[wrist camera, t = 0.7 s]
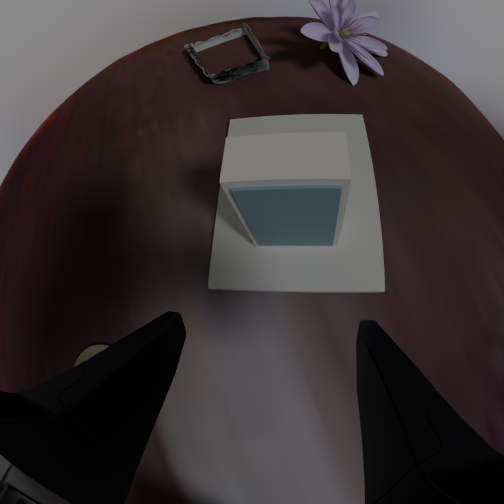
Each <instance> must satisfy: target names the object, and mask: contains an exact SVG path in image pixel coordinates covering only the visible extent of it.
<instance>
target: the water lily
mask: <svg viewBox="0 0 504 504" xmlns="http://www.w3.org/2000/svg"><path fill="white" fill-rule="evenodd" d="M309 2H310V4H311V6H312V7H313V9H314V11H315V12H316V14H317V15H318V16H319V17H320V19H321V20H322V21H323V22H324V23H325V24H326V25H327V26H326V25H324V24H322V23H315V22H313V23H308V24H306V25H305V26H303V27H302V29H301V31H300V32H301V33H302V34H304V35H305V36H307V37H309V38H311V39H314V40H317V41H323V42H325V43H324V44H323V45H322V46H320V49H321V50H324V49H325V48H326V47H327V46H328V45H329V47H330V49H331V50H332V51H334V52H337V53H339V57H340V61H341V64H342V66H343V69H344V71H345V73H346V75H347V77H348V78H349V80H350V82H351V83H352V84H353V85H355V84H356V83H357V81H358V78H359V69H358V65H357V62H356V59H355V57H354V55H353V53H354V54H355V55H356V56H357V57H358V58H359V59H360V60H361V61H363V62H364V63H365V64H366V65H367V66H369V67H370V68H371V69H373V70H374V71H376V72H377V73H379V74H380V75H382V76H383V75H384V74H383V70H382V68H381V66H380V64H379V63H378V62H377V60H376V59H375V58H374V57H373V56H372V55H371V54H369V53H368V52H370V53H373V54H376V55H379V56H386V55H388V54H387V52H386V51H385V50H387V47H386V46H385V45H384V44H383V43H381V42H380V41H378V40H376V39H373V38H370V37H366V36H360V35H356V34H357V33H364V32H367V31H369V30H372V29H373V28H375V27H376V26H377V25H378V24H379V22H380V19H379V18H378V13H377V12H375V11H365V12H363V13H361V14H359V15H357V16H355V17H354V18H353V19H352V17H353V15H354V13H355V8H356V5H355V0H329V2H330V9H331V11H330V9H329V8H328V6H327V5H326V4H325V3H324V2H323V1H322V0H309ZM351 19H352V20H351ZM350 20H351V21H350ZM328 26H329V27H328ZM364 35H366V34H364ZM350 49H351V50H352V52H353V53H352V52H351V50H350ZM367 51H368V52H367Z"/></svg>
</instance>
